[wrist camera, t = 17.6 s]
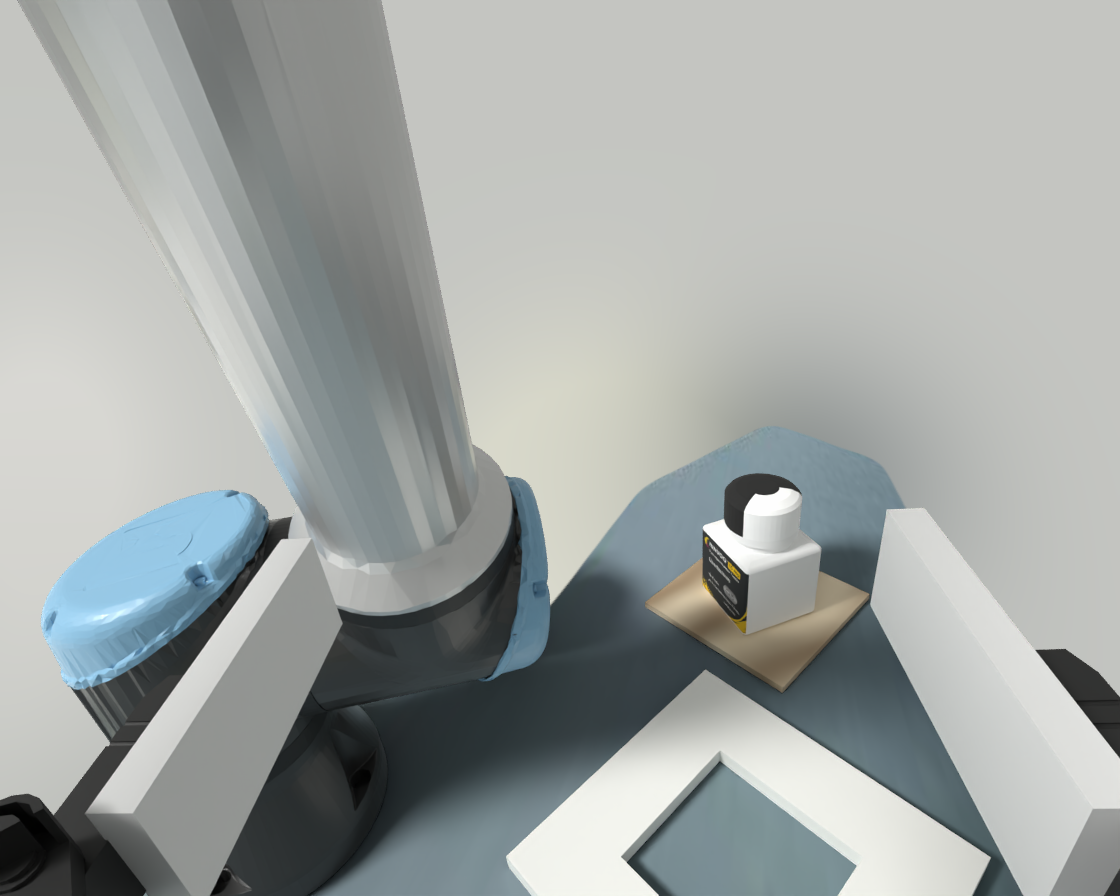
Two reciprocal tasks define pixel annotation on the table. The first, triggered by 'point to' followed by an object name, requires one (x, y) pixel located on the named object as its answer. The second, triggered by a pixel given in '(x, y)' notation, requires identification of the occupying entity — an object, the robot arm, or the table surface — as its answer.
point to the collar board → (769, 766)
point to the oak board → (770, 649)
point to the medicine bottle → (760, 554)
